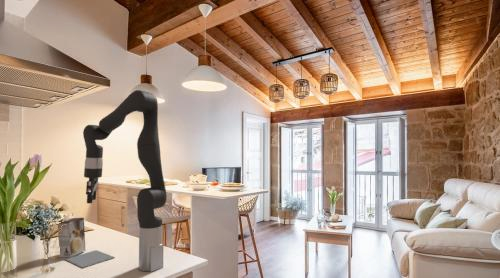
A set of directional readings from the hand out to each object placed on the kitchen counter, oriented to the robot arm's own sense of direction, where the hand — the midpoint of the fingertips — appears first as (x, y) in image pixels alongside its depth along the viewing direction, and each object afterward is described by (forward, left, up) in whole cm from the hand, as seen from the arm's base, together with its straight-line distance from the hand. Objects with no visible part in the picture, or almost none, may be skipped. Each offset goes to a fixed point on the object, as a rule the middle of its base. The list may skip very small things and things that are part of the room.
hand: (91, 201), depth 139 cm
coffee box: (+6, +5, -25) cm, 26 cm away
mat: (-6, +3, -25) cm, 26 cm away
